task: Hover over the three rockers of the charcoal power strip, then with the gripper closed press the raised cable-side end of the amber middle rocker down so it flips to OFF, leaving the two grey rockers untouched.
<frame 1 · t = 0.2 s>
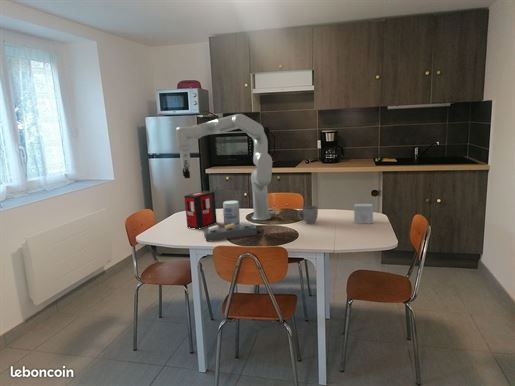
hand: (186, 177, 229), 31 cm above the table, tool pointing down, fingers open, 9 cm apart
rocker middle: (229, 226, 212), point 6 cm above the table, hinge at 12.0°
mug: (307, 223, 230), on the table
skincare box: (363, 222, 226), on the table
rocker 1: (213, 228, 210), point 6 cm above the table, hinge at 12.0°
rocker 2: (245, 224, 214), point 6 cm above the table, hinge at -12.0°
power strip: (230, 236, 213), on the table
cleaning product box: (202, 225, 238), on the table
supplement tub: (232, 226, 233), on the table
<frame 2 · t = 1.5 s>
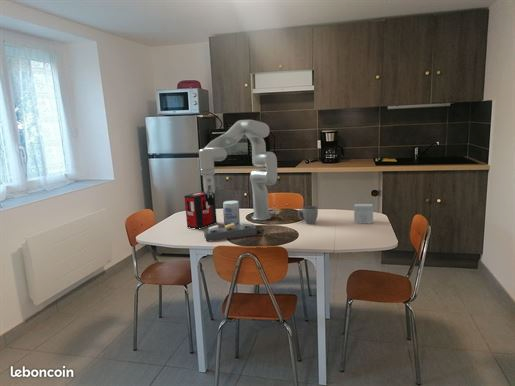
hand: (209, 203, 208), 19 cm above the table, tool pointing down, fingers open, 9 cm apart
nothing on the table moved.
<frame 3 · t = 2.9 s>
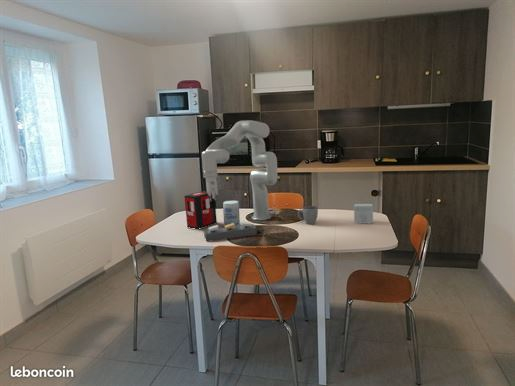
hand: (213, 207, 208), 17 cm above the table, tool pointing down, fingers closed
nothing on the table moved.
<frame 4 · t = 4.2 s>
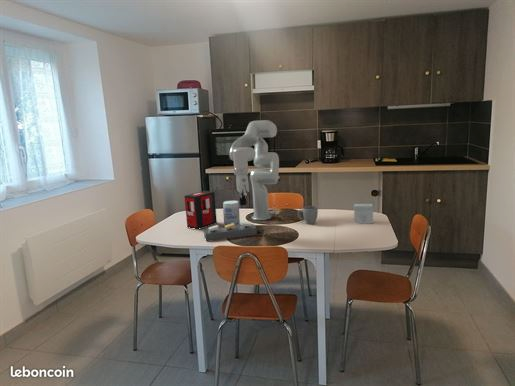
hand: (243, 204, 212), 17 cm above the table, tool pointing down, fingers closed
nothing on the table moved.
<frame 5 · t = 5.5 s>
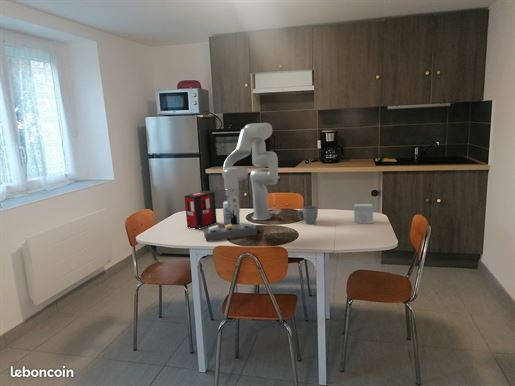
hand: (234, 224, 212), 7 cm above the table, tool pointing down, fingers closed
rocker middle: (229, 226, 212), point 6 cm above the table, hinge at 11.0°, touching gripper
everything else where it was.
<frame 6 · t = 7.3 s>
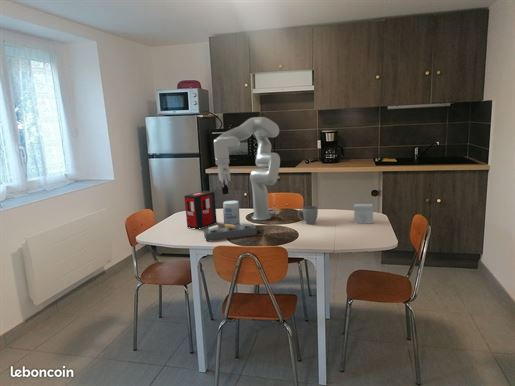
hand: (225, 193, 215), 23 cm above the table, tool pointing down, fingers closed
rocker middle: (230, 226, 212), point 6 cm above the table, hinge at -13.2°
everything else where it was.
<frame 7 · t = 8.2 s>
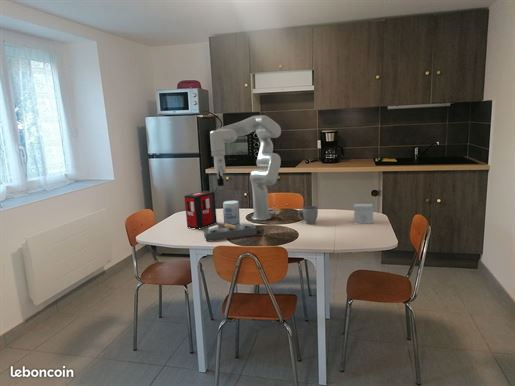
hand: (220, 185, 216), 27 cm above the table, tool pointing down, fingers closed
rocker middle: (230, 226, 212), point 6 cm above the table, hinge at -19.9°
everything else where it was.
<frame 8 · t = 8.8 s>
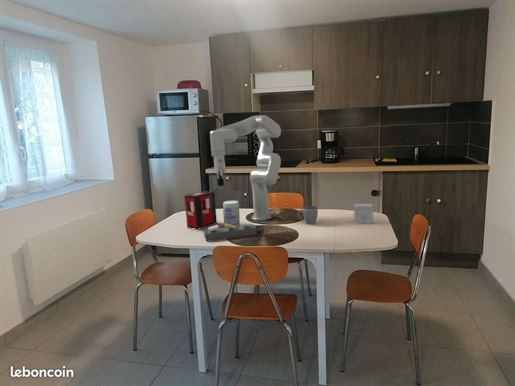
hand: (220, 185, 216), 27 cm above the table, tool pointing down, fingers closed
rocker middle: (230, 226, 212), point 6 cm above the table, hinge at -23.4°, touching power strip
everything else where it was.
at the end: rocker middle at -24° (first picture: +12°); rocker 1 at +12° (first picture: +12°); rocker 2 at -12° (first picture: -12°) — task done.
